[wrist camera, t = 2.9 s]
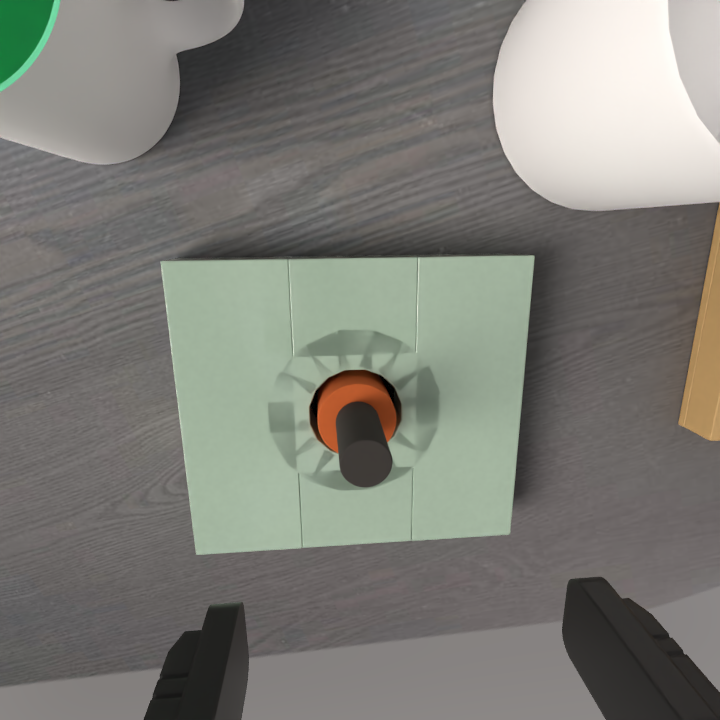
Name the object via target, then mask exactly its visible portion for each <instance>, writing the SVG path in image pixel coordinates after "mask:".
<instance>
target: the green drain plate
mask: <svg viewBox="0 0 720 720" xmlns="http://www.w3.org/2000/svg"><path fill="white" fill-rule="evenodd" d="M534 258H535V256H534V255H525V254H515V253H505V254H435V255H365V256H295V257H224V258H175V259H169V260H164V261H161V270H162V278H163V286H164V295H165V303H166V311H167V319H168V327H169V336H170V344H171V352H172V360H173V369H174V377H175V385H176V393H177V401H178V410H179V418H180V426H181V434H182V443H183V451H184V459H185V467H186V475H187V484H188V492H189V500H190V508H191V517H192V525H193V533H194V541H195V549H196V555H203V554H218V553H233V552H249V551H264V550H280V549H295V548H302V546H303V548H307V547H323V546H338V545H353V544H369V543H384V542H400V541H411V540H412V541H418V540H433V539H448V538H464V537H479V536H495V535H509V534H510V531H511V519H512V508H513V497H514V485H515V474H516V463H517V451H518V440H519V429H520V417H521V406H522V394H523V383H524V372H525V360H526V349H527V338H528V326H529V315H530V304H531V292H532V281H533V270H534ZM345 370H367V371H370V372H373V373H376V374H378V375H381V376H382V377H384V378H385V379H386V380H387V381H388V382H389V383H390V384H391V385H392V386H393V388H394V408H395V411H396V427H395V430H394V433H393V435H392V437H391V438H390V440H389V441H388V446H389V449H390V452H391V455H392V461H393V463H392V469H391V471H390V473H389V475H388V476H387V478H386V479H385V480H384V481H382V482H381V483H380V484H378V485H375V486H372V487H358V486H355V485H352V484H351V483H349V482H348V481H347V480H346V479H345V478H344V477H343V475H342V473H341V471H340V465H339V455H338V453H337V452H335V451H334V450H332V449H331V448H330V447H329V446H328V445H326V443H325V442H324V441H323V439H322V437H321V435H320V433H319V429H318V421H317V419H316V417H315V415H314V413H313V411H312V409H311V402H312V399H313V397H314V394H315V392H316V390H317V389H318V388H319V387H320V386H321V385H322V384H323V383H324V382H325V381H326V380H327V379H328V378H329V377H331V376H333V375H336V374H338V373H340V372H342V371H345Z"/></svg>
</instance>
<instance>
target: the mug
mask: <svg viewBox="0 0 720 720" xmlns="http://www.w3.org/2000/svg"><path fill="white" fill-rule="evenodd" d="M243 8H244V0H179V1H165V0H0V138H3V139H7V140H10V141H13V142H17V143H20V144H23V145H27V146H30V147H33V148H37V149H40V150H43V151H47V152H50V153H53V154H57V155H60V156H63V157H67V158H70V159H73V160H77V161H80V162H84V163H89V164H99V165H108V164H117V163H122V162H126V161H129V160H132V159H134V158H136V157H138V156H140V155H142V154H144V153H145V152H147V151H148V150H150V149H151V148H152V147H153V146H154V145H155V144H156V143H157V142H158V141H159V140H160V139H161V138H162V137H163V135H164V134H165V132H166V131H167V129H168V128H169V126H170V124H171V122H172V120H173V117H174V115H175V112H176V109H177V105H178V100H179V92H180V73H179V65H178V60H177V56H176V54H177V53H179V52H181V51H184V50H188V49H193V48H197V47H201V46H204V45H207V44H209V43H212V42H214V41H216V40H218V39H220V38H222V37H223V36H225V35H226V34H228V33H229V32H230V31H231V30H232V29H233V28H234V27H235V26H236V25H237V23H238V22H239V20H240V18H241V15H242V13H243Z"/></svg>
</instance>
